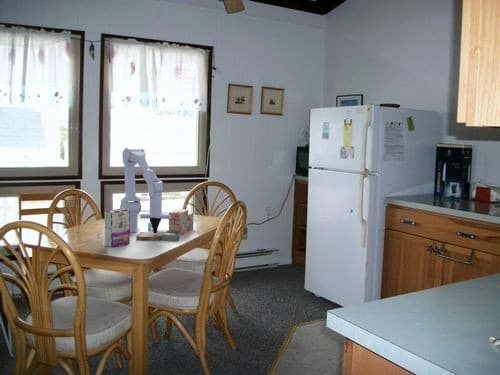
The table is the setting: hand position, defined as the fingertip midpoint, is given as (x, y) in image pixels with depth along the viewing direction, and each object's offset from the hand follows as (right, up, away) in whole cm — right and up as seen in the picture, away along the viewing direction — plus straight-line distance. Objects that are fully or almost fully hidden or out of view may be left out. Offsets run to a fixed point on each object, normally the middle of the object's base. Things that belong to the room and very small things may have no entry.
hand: (155, 233), depth 235 cm
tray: (+8, -3, +1) cm, 8 cm away
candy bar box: (-14, -4, -16) cm, 22 cm away
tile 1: (+3, -1, 0) cm, 3 cm away
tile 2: (+8, -3, +1) cm, 8 cm away
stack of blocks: (+10, -2, +18) cm, 21 cm away
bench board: (-2, -3, 0) cm, 4 cm away
